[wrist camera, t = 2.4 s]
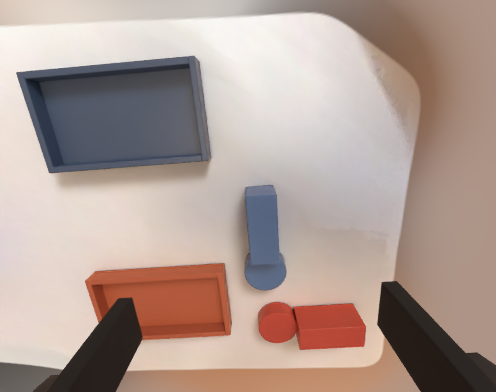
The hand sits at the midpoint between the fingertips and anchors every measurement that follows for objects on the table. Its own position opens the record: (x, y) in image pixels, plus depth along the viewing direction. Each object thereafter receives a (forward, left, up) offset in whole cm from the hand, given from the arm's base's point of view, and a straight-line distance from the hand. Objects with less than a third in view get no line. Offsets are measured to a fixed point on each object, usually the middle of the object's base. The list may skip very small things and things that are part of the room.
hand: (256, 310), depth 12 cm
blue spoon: (-1, +3, -15) cm, 15 cm away
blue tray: (+12, -11, -15) cm, 22 cm away
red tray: (+12, +11, -15) cm, 22 cm away
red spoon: (-6, +15, -15) cm, 22 cm away
